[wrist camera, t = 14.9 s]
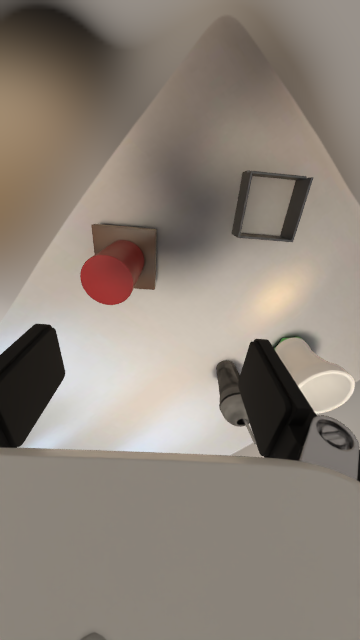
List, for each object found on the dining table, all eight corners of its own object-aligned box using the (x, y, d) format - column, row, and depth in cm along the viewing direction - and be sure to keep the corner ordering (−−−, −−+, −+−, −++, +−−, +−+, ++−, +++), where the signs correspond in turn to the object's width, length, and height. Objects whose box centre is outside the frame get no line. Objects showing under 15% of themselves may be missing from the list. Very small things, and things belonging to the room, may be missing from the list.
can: (104, 238, 34) (76, 252, 25) (144, 241, 35) (132, 257, 25) (107, 277, 37) (83, 303, 28) (144, 279, 38) (133, 306, 28)
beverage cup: (205, 365, 54) (220, 443, 36) (231, 351, 52) (259, 427, 34) (220, 382, 57) (240, 462, 39) (245, 369, 55) (277, 448, 37)
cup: (307, 363, 54) (346, 411, 42) (262, 367, 55) (288, 416, 42) (316, 325, 49) (364, 368, 36) (266, 330, 49) (297, 373, 37)
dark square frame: (242, 172, 35) (251, 168, 31) (298, 178, 35) (314, 175, 31) (231, 233, 39) (237, 237, 35) (281, 238, 40) (292, 242, 36)
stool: (101, 222, 38) (91, 224, 33) (158, 226, 38) (155, 230, 34) (106, 277, 43) (98, 285, 38) (156, 280, 43) (154, 289, 39)
